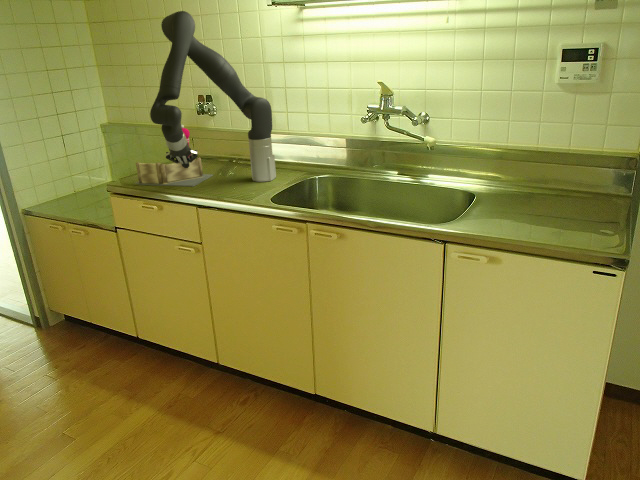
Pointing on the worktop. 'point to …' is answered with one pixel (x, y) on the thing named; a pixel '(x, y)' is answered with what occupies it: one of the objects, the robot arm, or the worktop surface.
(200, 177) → the card
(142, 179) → the fence frame
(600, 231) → the worktop surface
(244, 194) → the worktop surface
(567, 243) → the worktop surface
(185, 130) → the pepper mill
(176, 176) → the fence gate
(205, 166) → the worktop surface
